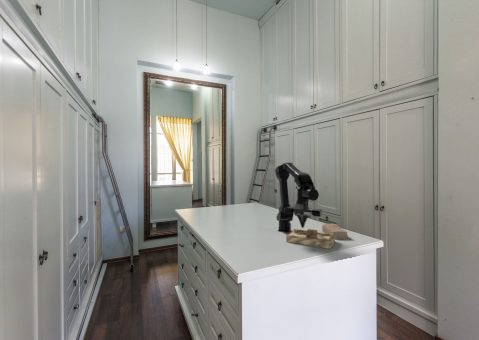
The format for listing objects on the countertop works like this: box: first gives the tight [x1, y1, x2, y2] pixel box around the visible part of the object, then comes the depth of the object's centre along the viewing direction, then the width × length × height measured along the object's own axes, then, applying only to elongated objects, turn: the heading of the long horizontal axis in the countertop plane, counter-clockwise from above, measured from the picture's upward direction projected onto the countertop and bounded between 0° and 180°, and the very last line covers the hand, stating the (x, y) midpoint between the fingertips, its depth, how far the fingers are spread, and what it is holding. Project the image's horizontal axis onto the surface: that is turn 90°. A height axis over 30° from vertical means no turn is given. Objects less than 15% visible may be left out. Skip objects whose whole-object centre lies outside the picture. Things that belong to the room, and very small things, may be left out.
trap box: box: [285, 228, 336, 250], centre depth 123 cm, size 22×13×4 cm, turn 59°
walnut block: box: [305, 228, 318, 239], centre depth 120 cm, size 4×4×4 cm
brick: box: [321, 223, 349, 240], centre depth 135 cm, size 17×8×5 cm, turn 2°
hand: (302, 227), depth 122 cm, fingers closed
